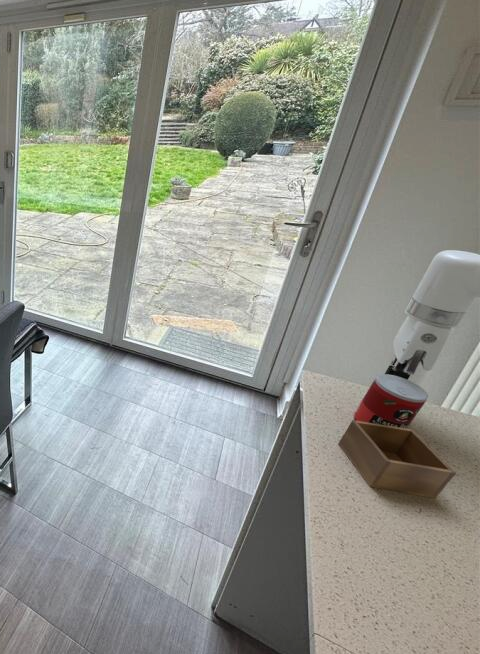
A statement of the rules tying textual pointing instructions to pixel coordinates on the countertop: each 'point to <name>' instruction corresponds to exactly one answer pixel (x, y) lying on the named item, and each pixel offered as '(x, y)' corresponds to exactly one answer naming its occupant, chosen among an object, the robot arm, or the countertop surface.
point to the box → (395, 459)
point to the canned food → (391, 402)
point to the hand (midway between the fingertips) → (391, 383)
